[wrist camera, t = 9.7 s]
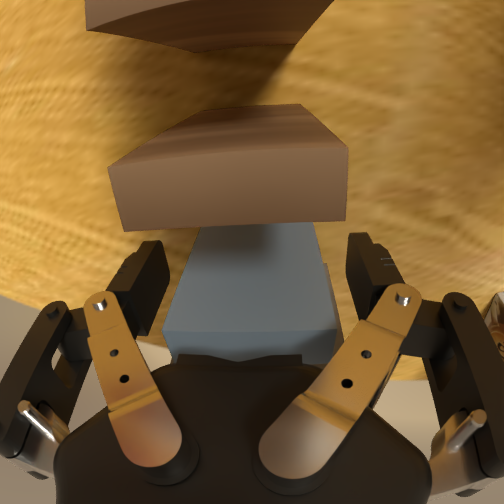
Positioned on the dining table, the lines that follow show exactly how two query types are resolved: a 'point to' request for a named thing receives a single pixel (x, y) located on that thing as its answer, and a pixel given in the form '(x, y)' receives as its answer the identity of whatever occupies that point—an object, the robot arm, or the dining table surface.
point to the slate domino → (253, 295)
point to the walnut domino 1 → (206, 21)
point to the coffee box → (497, 321)
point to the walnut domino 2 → (234, 171)
